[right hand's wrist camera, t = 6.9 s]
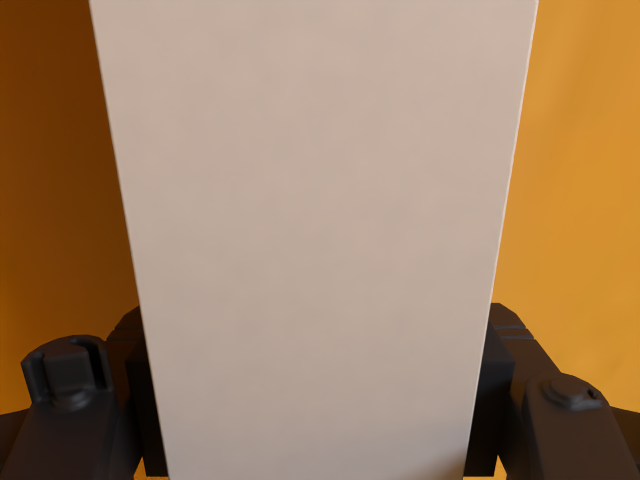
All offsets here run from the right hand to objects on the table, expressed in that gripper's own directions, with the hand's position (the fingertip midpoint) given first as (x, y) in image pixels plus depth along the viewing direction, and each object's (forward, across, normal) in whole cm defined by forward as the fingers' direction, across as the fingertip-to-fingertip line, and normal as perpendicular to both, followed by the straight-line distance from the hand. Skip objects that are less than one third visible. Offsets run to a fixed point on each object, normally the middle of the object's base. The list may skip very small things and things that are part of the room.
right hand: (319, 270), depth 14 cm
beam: (+1, 0, -23) cm, 23 cm away
